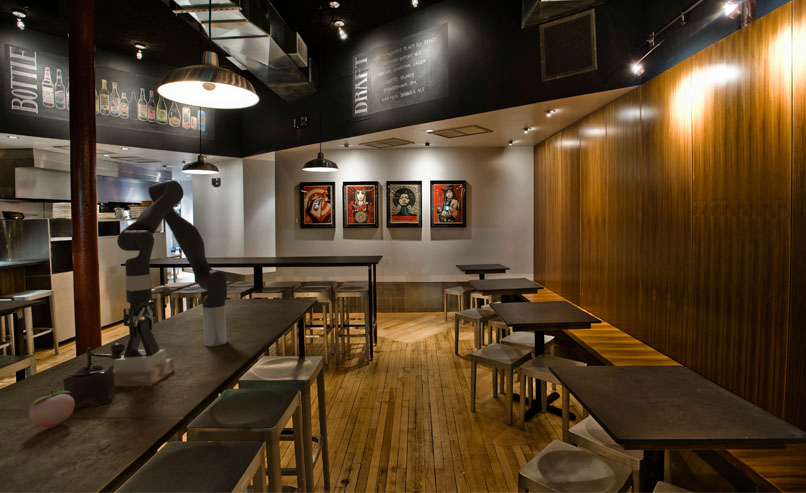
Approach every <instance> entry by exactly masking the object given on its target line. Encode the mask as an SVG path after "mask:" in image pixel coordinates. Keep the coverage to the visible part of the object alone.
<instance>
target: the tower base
mask: <svg viewBox="0 0 806 493" xmlns="http://www.w3.org/2000/svg"><path fill="white" fill-rule="evenodd" d="M174 370H175V368H174V358H173V357H172V358H166V361H164V362H162V363H160V364H158V365H157V366H155V367H153V368H151V369H149V370H147V371H114V385H115V387H141V386H142V387H144V386H145V387H146V386H147V387H148V386H149V387H150V386H152V385H155V383H157V382H159V381H160V380H162V379H163V378H165V377H167V376H168V375H170V374H171V373H172V372H174Z"/></svg>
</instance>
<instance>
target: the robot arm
mask: <svg viewBox="0 0 806 493" xmlns="http://www.w3.org/2000/svg"><path fill="white" fill-rule="evenodd" d="M148 195H149V198H150V200H151V201H152V204H150V205H149V206H148V207H146V208H145V209H143V211H142V212H141V213H140V214H139V215H138V217H137V219H136V220H135V221H134V222H132V223H131V224H130V225H128V226H127V227H125V228H124V229H123V230H121V232H119V234H118V237H117V246H118V248H120V250H123V251H125V252H138V255H137V256H135V257H130V258H127V259H126V261H125V262H124V263H125V295H126V296H125V297H126V298H125V299H126V302H127V303H128V304H130V307H126V308H125V307H124V308H123V327H128V330H129V333H128V334H129V338H130V337H131V338H132V337H137V336H138V332H137V323H138V321H139V320H140V319H145V318H147V319H148V320H149V327H150V330H151V331H153V319H154V318H155V317H156V316H157V313H156V302H155V300H153V287H152V278H151V270H150V268H151V267H150V261H151V257H152V252H153V249H154V245H155V238H154V234H155V232H156V231H157V230H158V228H159V226H160V225H161V223H162V221H163V220H164V221H165V222H166V224H167V226H168V227H169V229H170V231H171V233H172V235H173V237H174V238H175V241H176V242H177V244H178V246H179V248H180V250H181V251H182V253H183V255H184V256H185V258H186V260H187V262H188V263H189V265H190V267H191V269H192V272H193V274H194V277H195V279H196V281H197V284H198V286H199V287H200V288H201V289H202V290H205V291H207V292H206V293H207V294H206V298H205V299H203V300H202V304H201V305H202V325H203V326H202V327H203V345H204V346H205V347H218V346H222V345H225V344H227V342H228V341H227V340H228V339H227V321H226V320H227V319H226V318H227V317H226V300H227V297H228V280H227V276H226V274H225V273H224V272H223V271H220V270H215V269H213V268H212V266H211V265H210V264H209V262H208V260H207V258H206V252H205V250H206V249H205V241H204V240H203V237H202V236H201V234H200V232H199V230H198V228H197V227H196V226H195V225H194V224H192V223H191V222H190V221H189V220H186V219H185V218H184V217H182V216H181V215H180V214H178V213H177V212H176V210H175V208H174V207H176V206H177V205H178V204H179V203H180V202H181V201H182V199H183V198H184V188H183V186H182V184H180V182H179V181H177V180H173V179H170V180H169V179H168V180H164V181H162V182H157V183H153V184H151V185H150V186H149V187H148Z"/></svg>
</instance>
